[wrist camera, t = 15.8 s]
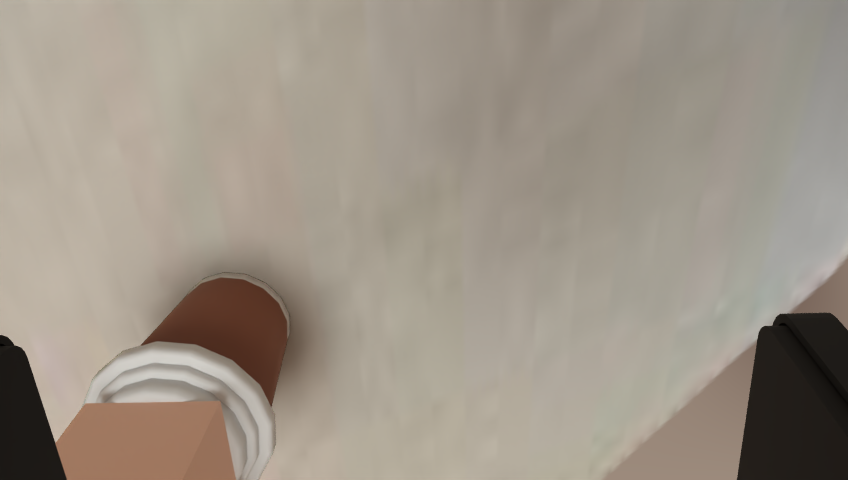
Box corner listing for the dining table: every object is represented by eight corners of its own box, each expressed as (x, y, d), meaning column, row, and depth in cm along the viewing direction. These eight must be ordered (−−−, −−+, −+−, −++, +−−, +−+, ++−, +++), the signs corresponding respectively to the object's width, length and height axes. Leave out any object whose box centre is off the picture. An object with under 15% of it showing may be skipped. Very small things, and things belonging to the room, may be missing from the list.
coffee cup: (142, 259, 43) (34, 380, 32) (296, 243, 42) (239, 363, 31) (182, 389, 47) (98, 538, 36) (325, 377, 46) (283, 526, 35)
